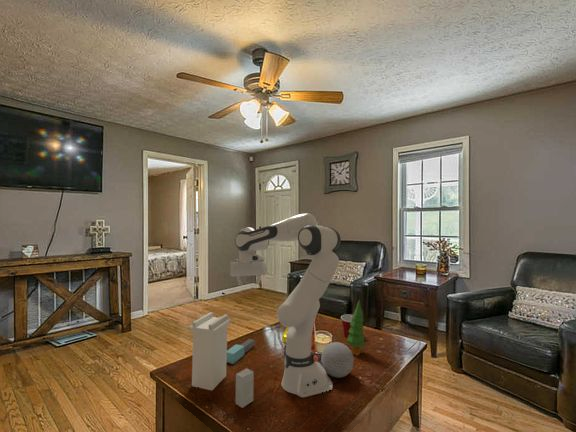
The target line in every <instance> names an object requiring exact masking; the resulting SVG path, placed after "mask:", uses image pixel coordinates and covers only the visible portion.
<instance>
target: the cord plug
mask: <svg viewBox="0 0 576 432" xmlns="http://www.w3.org/2000/svg"><path fill="white" fill-rule="evenodd" d="M254 347H255V339H252V338H248V339H247V340H245V341H243V342H242V343H241V344H237V343H235V344H234V345H233V346H231V347H230V348H229V349H227V363H228V364H232V365H234V364H235V363H236V362H238V361H239V360H241V358H243V357H244V356H245V355H246V353H248V352H249V351H250V350H251V349H253V348H254Z"/></svg>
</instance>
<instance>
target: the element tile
mask: <svg viewBox="0 0 576 432" xmlns="http://www.w3.org/2000/svg"><path fill="white" fill-rule="evenodd" d="M289 328H290V327H285V330H284V332H283V334H282V343H284V344H286V335H287V332H288V330H289Z"/></svg>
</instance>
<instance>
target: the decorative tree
mask: <svg viewBox="0 0 576 432" xmlns="http://www.w3.org/2000/svg"><path fill="white" fill-rule="evenodd" d="M352 315H353V317H352V321H351V323H350V325H351V327H350V329H349V331H348V332H350V334H349V336H348V338H347V337H346V340H347V344H348V345H349V346H350V347H352V349H350V351H351V352H352V353H353V354H360V353H361V354H362V350H361V348H362V347H364V346H365V342H364V341H365V336H364V335H363V333H364V324H363V323H364V322H365V320H364V312H363V309H362V305H361V301H360V298H359V300H358V301H357V304H356V307H355V310H354V312H353V313H352ZM353 354H352V355H353Z"/></svg>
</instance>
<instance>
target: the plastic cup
mask: <svg viewBox="0 0 576 432" xmlns="http://www.w3.org/2000/svg"><path fill="white" fill-rule="evenodd" d="M353 315H354V314H343V315H341V316H340V319H341V322H342V329H343V336H344V337H345V338H346V339H347V338H348V336H349V334H350V332H348V331H349V329H350V327H351V325H350V323H351V321H352V317H353Z"/></svg>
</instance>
